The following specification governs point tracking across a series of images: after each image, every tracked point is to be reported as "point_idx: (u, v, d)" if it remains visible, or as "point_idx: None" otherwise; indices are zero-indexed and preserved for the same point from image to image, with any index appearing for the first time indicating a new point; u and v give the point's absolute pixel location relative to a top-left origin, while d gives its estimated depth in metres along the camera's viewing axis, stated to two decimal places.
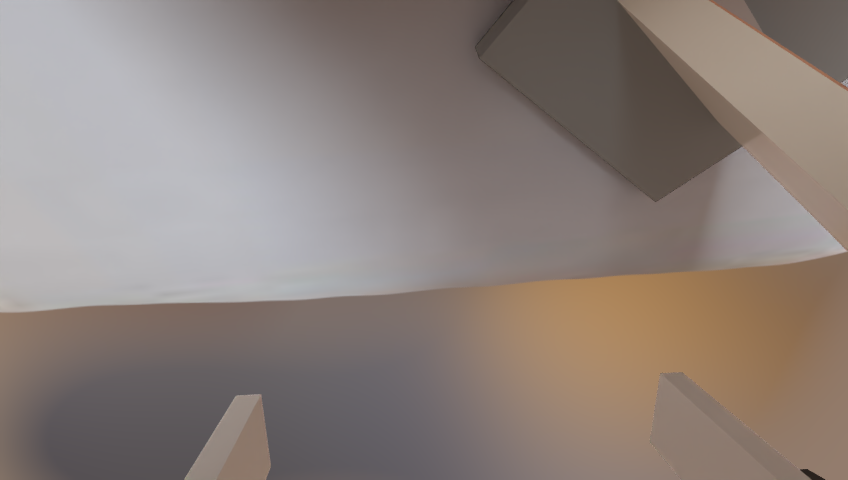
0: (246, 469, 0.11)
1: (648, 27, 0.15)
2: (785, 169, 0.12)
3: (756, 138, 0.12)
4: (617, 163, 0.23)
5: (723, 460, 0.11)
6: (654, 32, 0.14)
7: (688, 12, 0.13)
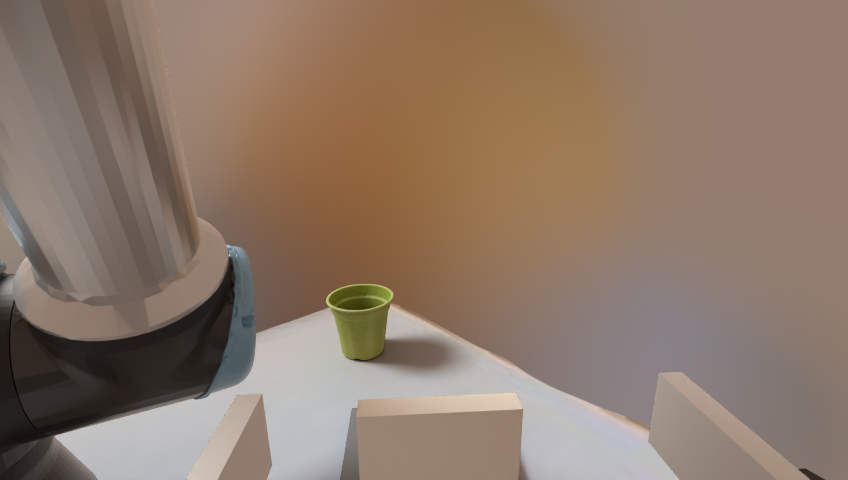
0: (247, 468, 0.11)
1: None
2: None
3: None
4: None
5: (721, 460, 0.11)
6: None
7: None
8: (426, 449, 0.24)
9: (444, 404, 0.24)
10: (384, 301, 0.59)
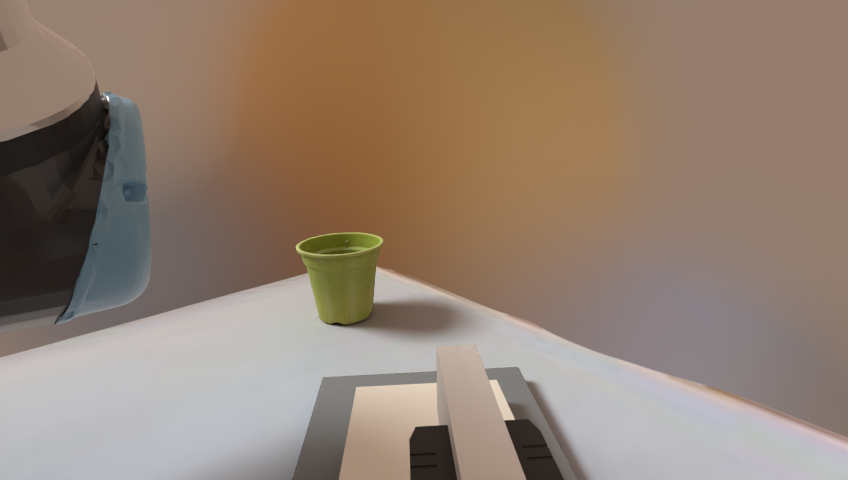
0: None
1: None
2: (400, 432, 0.23)
3: (385, 444, 0.22)
4: None
5: None
6: None
7: None
8: (417, 405, 0.26)
9: None
10: None
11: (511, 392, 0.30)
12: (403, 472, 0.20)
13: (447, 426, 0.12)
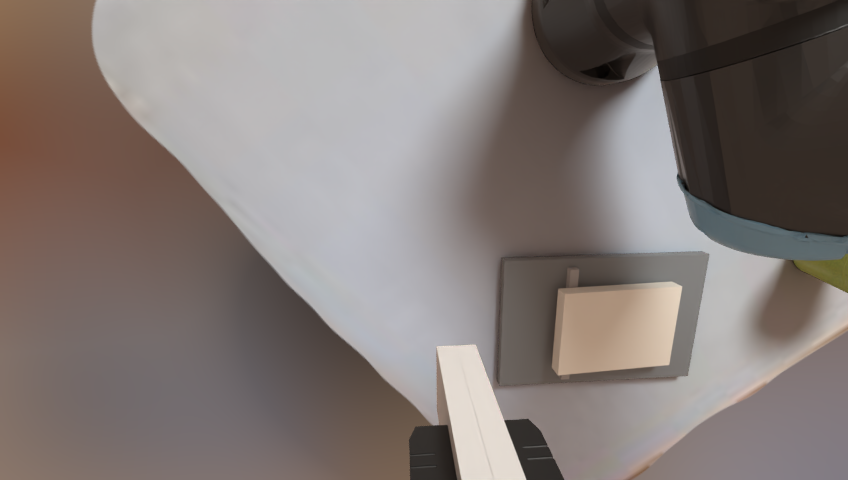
0: None
1: (589, 292, 0.43)
2: (637, 314, 0.45)
3: (630, 308, 0.44)
4: (503, 348, 0.47)
5: None
6: (593, 292, 0.43)
7: (592, 288, 0.44)
8: (656, 321, 0.45)
9: None
10: None
11: (664, 366, 0.49)
12: (611, 317, 0.44)
13: (447, 426, 0.12)
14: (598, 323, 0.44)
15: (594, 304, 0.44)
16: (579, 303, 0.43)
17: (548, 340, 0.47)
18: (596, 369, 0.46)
